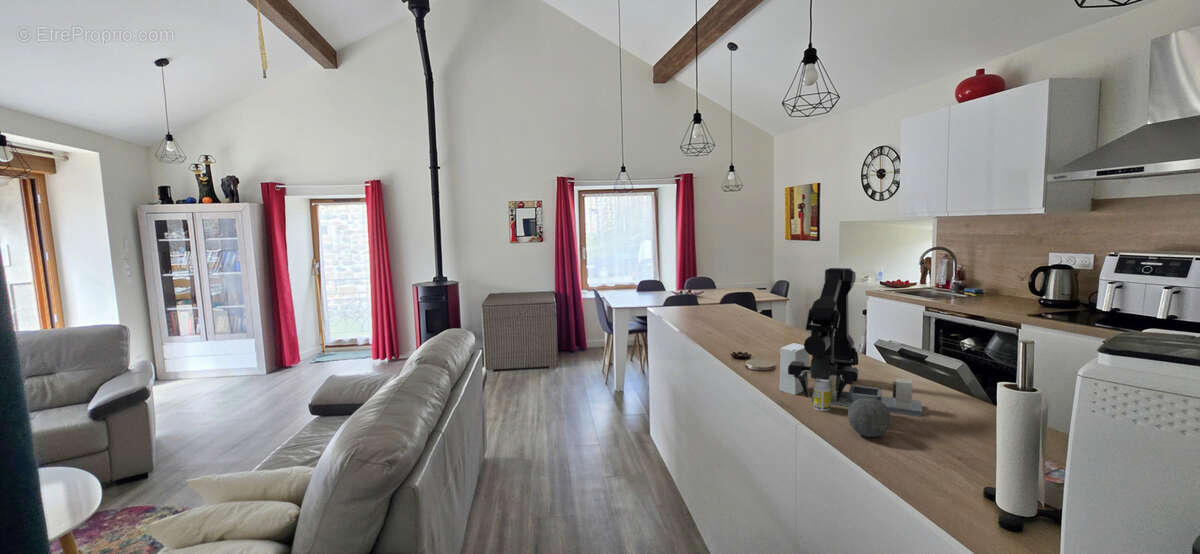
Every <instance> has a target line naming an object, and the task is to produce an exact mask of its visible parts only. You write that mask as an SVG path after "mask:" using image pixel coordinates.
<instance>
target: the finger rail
mask: <svg viewBox="0 0 1200 554" xmlns="http://www.w3.org/2000/svg"><path fill="white" fill-rule="evenodd" d="M828 381H829V382H830V386H829V387H830V388H831V405H832V404H836V405H835V406H840V405H842V406H841V407H847V406H848V408H850V406H851V404H852V403H853V402H854V401H856V400H858V399H860V398H865V397H869V398H874V399H877V400H879V401H880V402H882V403H883V404H884V405H885V406H886V407H887V408H888V410H889V412H890V414H892V413H893V414H899V415H907V416H914V417H922V416H923V408H922V401H920V400H915V399H913V379H911V378H909V379H908V378H900V377H896V380H893V382H892V397H890V396H889V397H888V396H883V395H882V392H883V391H882V390H883V389H882V388H880V387H871V386H863V385H855V384H850V387H849V390H848V391H842V393H841V396H840V398H839V401H838V402H837V393H838V387H839V381H840V376H834V375H832V376H829V379H828ZM811 402H812V403H814V392H813V393H812V396H811Z"/></svg>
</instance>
